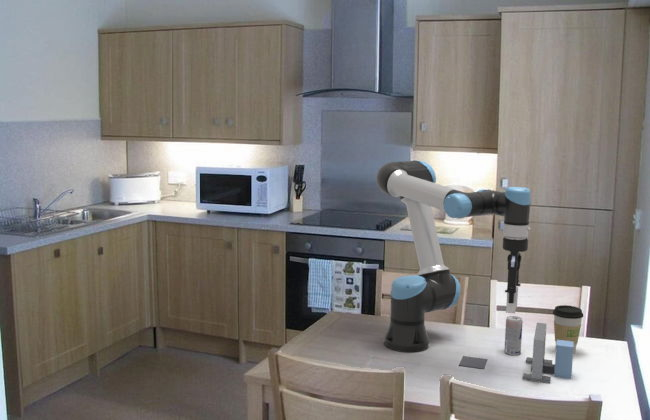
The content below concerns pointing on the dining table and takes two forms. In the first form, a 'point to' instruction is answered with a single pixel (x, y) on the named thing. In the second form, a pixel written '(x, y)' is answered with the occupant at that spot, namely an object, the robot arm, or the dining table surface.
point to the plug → (561, 360)
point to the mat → (473, 362)
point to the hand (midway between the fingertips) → (511, 309)
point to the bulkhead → (538, 356)
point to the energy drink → (513, 335)
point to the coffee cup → (567, 323)
